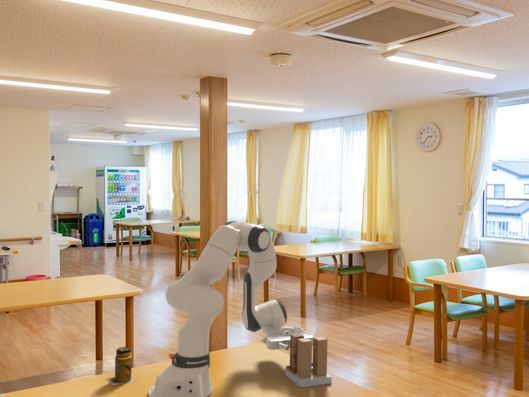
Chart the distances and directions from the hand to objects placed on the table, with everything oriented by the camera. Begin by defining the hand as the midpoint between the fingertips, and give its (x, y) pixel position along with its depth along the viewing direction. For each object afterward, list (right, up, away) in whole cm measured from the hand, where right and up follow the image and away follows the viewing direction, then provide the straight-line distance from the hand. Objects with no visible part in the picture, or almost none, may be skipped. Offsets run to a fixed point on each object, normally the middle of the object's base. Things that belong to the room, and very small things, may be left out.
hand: (298, 347), depth 196 cm
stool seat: (+4, -12, -1) cm, 13 cm away
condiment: (-67, -11, -6) cm, 69 cm away
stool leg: (-1, -9, +1) cm, 10 cm away
